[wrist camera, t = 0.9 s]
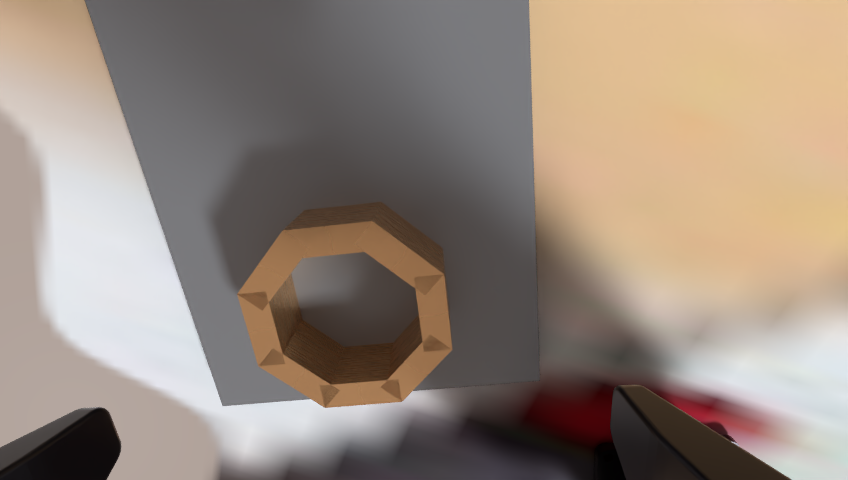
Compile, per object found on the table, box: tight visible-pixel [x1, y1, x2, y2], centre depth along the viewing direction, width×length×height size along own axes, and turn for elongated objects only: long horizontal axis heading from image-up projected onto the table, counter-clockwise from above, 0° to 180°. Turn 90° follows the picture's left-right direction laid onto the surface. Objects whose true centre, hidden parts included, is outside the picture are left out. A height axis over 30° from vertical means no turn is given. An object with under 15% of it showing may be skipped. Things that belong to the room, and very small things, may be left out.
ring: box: [237, 202, 452, 408], centre depth 16 cm, size 7×7×2 cm
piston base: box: [85, 0, 540, 406], centre depth 13 cm, size 24×14×5 cm, turn 6°
